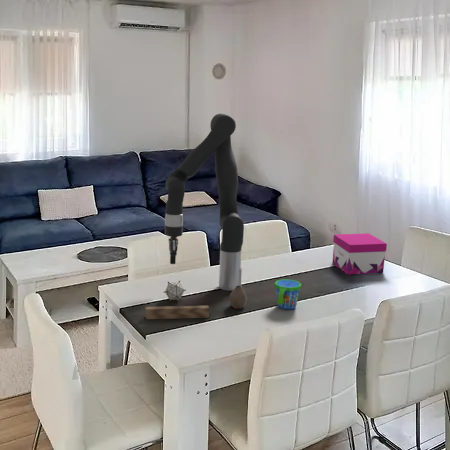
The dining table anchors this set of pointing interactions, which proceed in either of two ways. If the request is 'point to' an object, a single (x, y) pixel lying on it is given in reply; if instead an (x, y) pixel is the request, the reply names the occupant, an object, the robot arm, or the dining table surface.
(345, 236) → the decorative box
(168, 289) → the game die
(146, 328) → the dining table surface
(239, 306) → the vase
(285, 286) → the snack cup
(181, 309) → the board
